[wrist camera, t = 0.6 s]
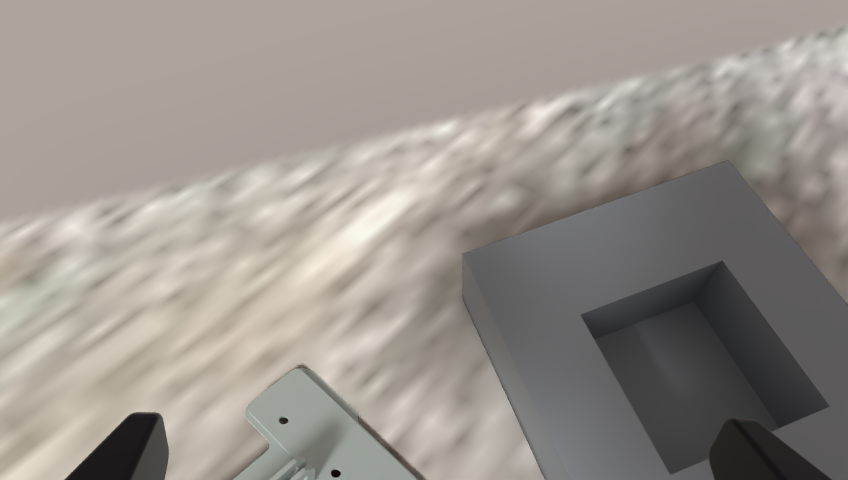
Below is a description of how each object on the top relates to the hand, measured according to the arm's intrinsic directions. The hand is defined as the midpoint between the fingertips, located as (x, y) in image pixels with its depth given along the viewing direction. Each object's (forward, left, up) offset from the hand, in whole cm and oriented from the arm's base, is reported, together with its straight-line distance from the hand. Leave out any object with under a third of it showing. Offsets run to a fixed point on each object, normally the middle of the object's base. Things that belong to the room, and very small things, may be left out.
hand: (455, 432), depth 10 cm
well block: (+2, -10, -15) cm, 18 cm away
